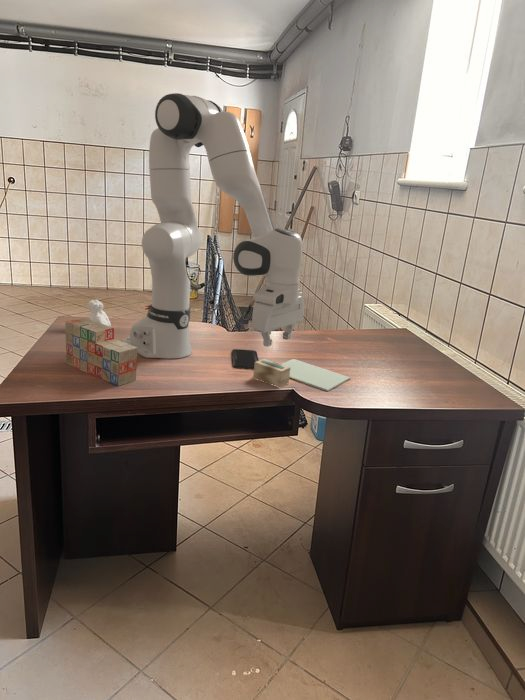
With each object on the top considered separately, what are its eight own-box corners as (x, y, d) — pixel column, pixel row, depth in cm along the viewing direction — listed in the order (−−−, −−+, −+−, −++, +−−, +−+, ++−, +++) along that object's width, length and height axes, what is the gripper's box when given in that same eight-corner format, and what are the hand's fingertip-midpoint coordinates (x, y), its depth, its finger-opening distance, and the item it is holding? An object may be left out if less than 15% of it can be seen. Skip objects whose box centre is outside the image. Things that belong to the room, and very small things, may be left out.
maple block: (253, 378, 145) (254, 361, 143) (262, 374, 148) (264, 358, 147) (279, 388, 140) (281, 370, 139) (288, 384, 144) (290, 367, 142)
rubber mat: (268, 370, 152) (268, 369, 152) (293, 360, 163) (293, 358, 163) (327, 391, 141) (328, 389, 141) (350, 378, 152) (350, 377, 152)
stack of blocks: (137, 380, 135) (138, 336, 131) (118, 387, 130) (118, 340, 126) (84, 358, 146) (84, 316, 142) (65, 363, 141) (64, 320, 137)
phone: (256, 350, 166) (260, 367, 152) (255, 353, 166) (259, 370, 152) (231, 348, 165) (233, 365, 151) (231, 352, 165) (233, 369, 151)
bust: (99, 330, 177) (78, 304, 173) (117, 318, 177) (96, 292, 173) (98, 341, 166) (75, 314, 162) (117, 328, 167) (95, 301, 162)
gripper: (292, 285, 146) (287, 332, 150) (249, 295, 130) (245, 347, 134) (311, 289, 143) (306, 337, 147) (270, 299, 127) (265, 353, 131)
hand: (277, 342), depth 140 cm, fingers open, 8 cm apart
